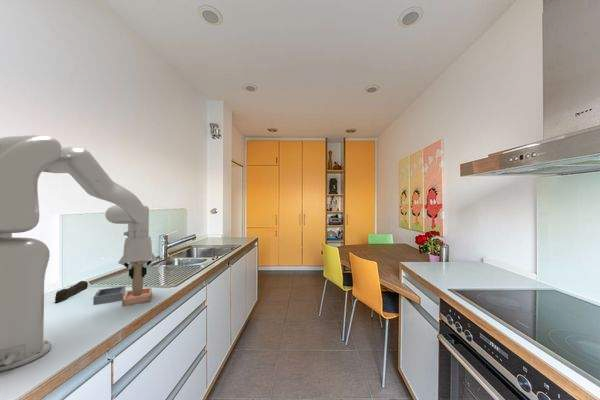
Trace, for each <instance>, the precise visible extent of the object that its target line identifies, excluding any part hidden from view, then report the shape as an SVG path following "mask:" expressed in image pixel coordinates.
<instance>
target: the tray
mask: <svg viewBox="0 0 600 400" xmlns="http://www.w3.org/2000/svg"><path fill="white" fill-rule="evenodd" d="M152 288H153V287H144V288H143V289H142V294H141V295H140V296H133V290H125V295H124V297H123V300H121V301H122V302H121V303H122V305H121V306H122V307H126V306H133V305H138V304H145V302H146V303H150V301H152V292H153V291H152V290H153V289H152Z"/></svg>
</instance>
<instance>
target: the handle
mask: <svg viewBox="0 0 600 400" xmlns="http://www.w3.org/2000/svg"><path fill="white" fill-rule="evenodd" d="M145 263H146V261H138V262H131V264H132V267H133V278H132V279H131V280H132V281H131V283H132V284H131V288H132V290H133V296H140V295H141V294H142V289H144V288H143V287H144V277H142V272H143V266H144V264H145Z"/></svg>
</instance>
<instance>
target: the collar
mask: <svg viewBox="0 0 600 400" xmlns="http://www.w3.org/2000/svg"><path fill="white" fill-rule="evenodd" d="M125 293H126V285H124V286H115V287H109V288H100V289H98V291H97V292H96V293H95V294H94V296H93V298H92V299H93V301H92V303H93V304H92V305H93V306H94V305H95V306H96V305H101V304H107V303H114V302H120V301H122V300H123V297H124V295H125Z"/></svg>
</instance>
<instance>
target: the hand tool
mask: <svg viewBox="0 0 600 400" xmlns="http://www.w3.org/2000/svg"><path fill="white" fill-rule="evenodd" d="M88 285H89V283H88V281H85V280H80V281H78V282H77V283H76V284H73V285H70V287H68V288H62V289H60V290H57V291H56V293H55V296H54V301H55V302H54V303H55V304H58V303H61V302H63V301H65V300H68V299H69V297H71V296H72V295H74V294H76V293H78V292H80V291H82V290H84V289H85V290H86V289H88Z"/></svg>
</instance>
